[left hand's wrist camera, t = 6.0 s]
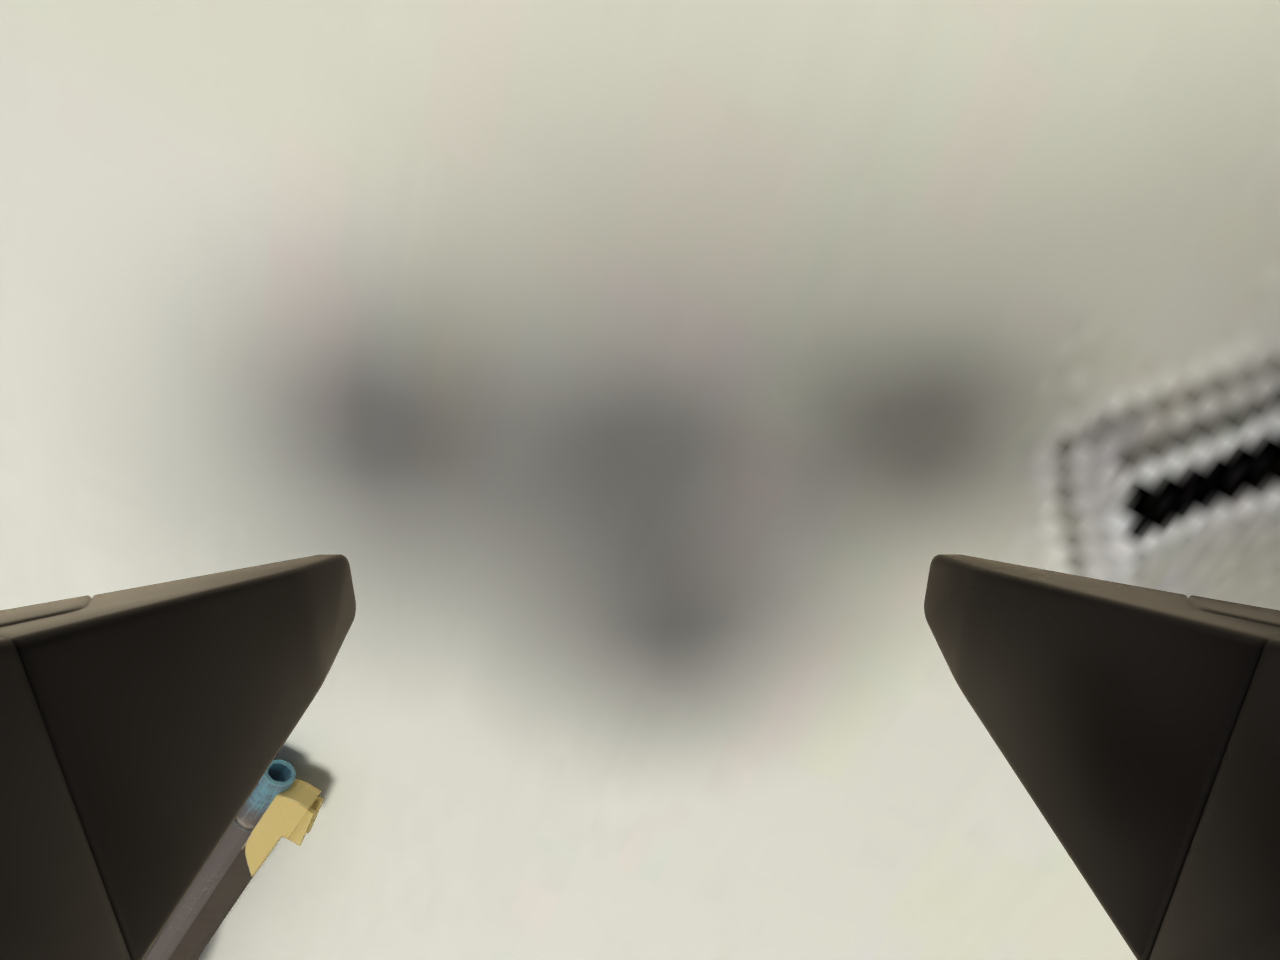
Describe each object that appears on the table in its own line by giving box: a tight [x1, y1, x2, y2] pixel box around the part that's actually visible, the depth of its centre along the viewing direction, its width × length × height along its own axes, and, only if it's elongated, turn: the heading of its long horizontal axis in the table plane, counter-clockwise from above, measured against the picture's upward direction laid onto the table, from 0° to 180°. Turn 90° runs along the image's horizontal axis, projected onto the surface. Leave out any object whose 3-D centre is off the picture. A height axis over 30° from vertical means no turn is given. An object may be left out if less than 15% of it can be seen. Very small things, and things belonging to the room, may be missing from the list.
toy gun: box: [143, 759, 324, 960], centre depth 24 cm, size 3×19×10 cm
